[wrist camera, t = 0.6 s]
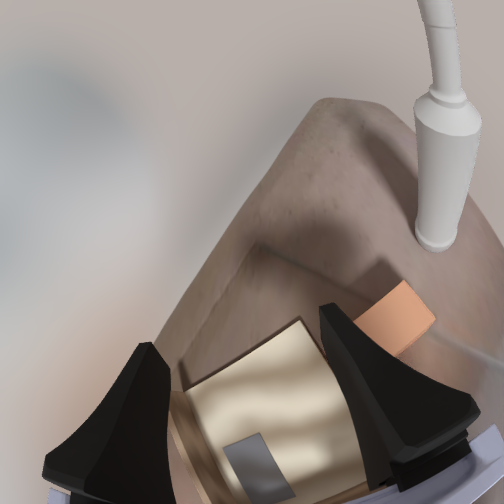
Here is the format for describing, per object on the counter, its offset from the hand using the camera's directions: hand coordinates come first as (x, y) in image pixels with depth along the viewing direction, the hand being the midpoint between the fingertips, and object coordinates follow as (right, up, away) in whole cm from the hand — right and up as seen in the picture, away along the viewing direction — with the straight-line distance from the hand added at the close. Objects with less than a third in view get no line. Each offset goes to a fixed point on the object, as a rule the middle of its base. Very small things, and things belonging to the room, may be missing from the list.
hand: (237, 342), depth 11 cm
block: (+14, -5, +13) cm, 19 cm away
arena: (+3, -16, +13) cm, 21 cm away
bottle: (+21, +6, +14) cm, 26 cm away
